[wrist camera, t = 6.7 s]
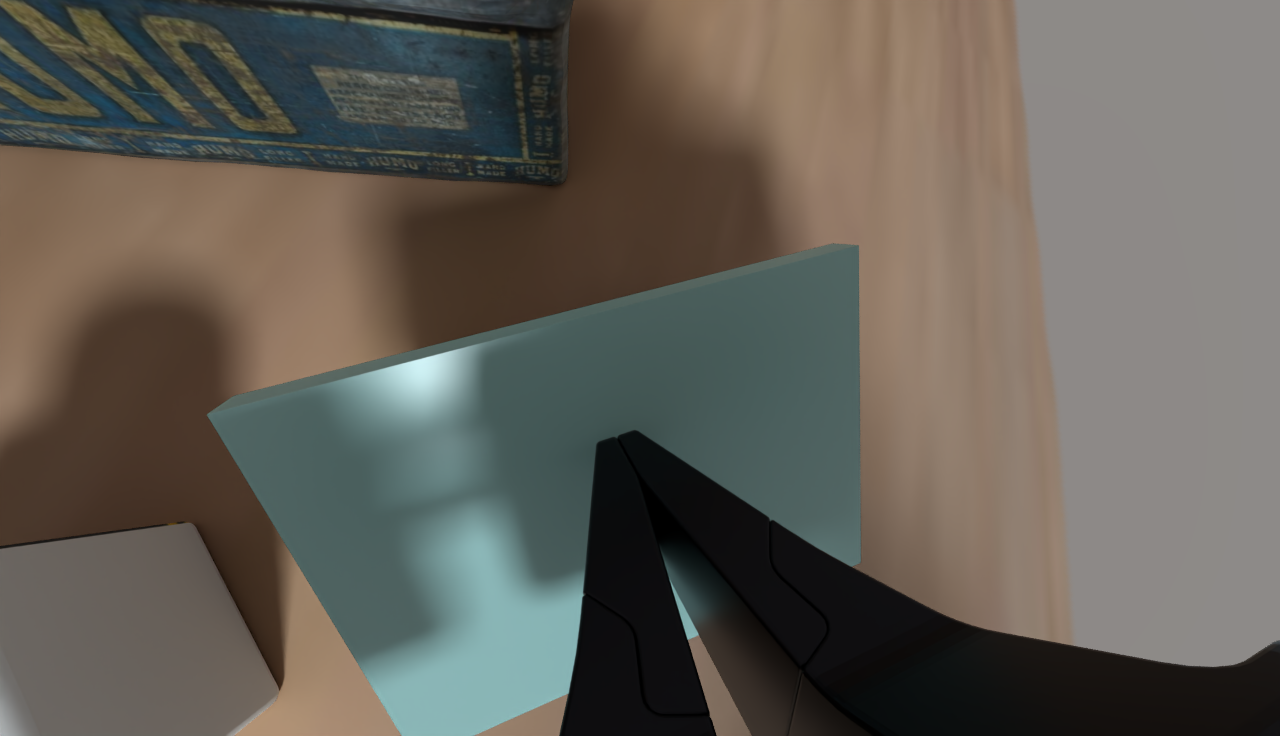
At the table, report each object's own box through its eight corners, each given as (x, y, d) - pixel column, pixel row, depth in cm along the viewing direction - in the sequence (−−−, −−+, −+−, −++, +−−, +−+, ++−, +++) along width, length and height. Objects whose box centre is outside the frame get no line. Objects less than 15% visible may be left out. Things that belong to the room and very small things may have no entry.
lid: (841, 544, 14) (860, 562, 13) (421, 725, 11) (417, 760, 10) (833, 243, 10) (858, 245, 10) (233, 396, 8) (206, 414, 7)
